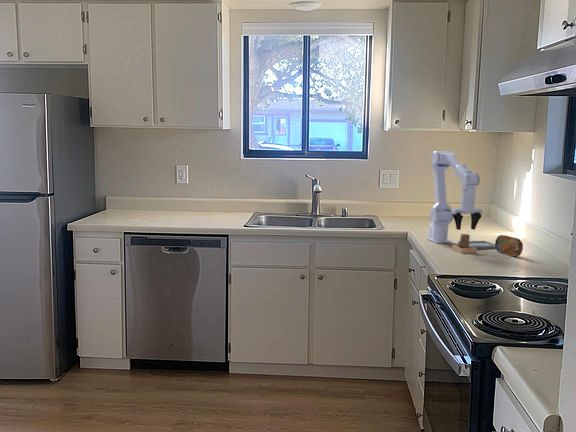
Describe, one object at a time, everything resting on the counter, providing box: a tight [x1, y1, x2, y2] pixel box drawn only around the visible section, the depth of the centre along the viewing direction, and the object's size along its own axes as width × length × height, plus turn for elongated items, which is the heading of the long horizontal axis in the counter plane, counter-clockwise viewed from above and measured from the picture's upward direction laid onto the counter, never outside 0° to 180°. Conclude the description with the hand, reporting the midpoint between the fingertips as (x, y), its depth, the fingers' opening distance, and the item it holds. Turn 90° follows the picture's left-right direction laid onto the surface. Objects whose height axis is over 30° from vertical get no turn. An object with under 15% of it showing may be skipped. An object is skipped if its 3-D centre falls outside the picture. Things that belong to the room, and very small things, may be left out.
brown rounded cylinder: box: [459, 233, 471, 248], centre depth 260 cm, size 4×4×8 cm
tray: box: [457, 240, 496, 250], centre depth 272 cm, size 11×15×2 cm
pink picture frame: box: [451, 244, 477, 254], centre depth 260 cm, size 8×8×2 cm
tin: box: [494, 234, 524, 257], centre depth 256 cm, size 15×3×8 cm, turn 21°
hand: (465, 229), depth 259 cm, fingers open, 7 cm apart
